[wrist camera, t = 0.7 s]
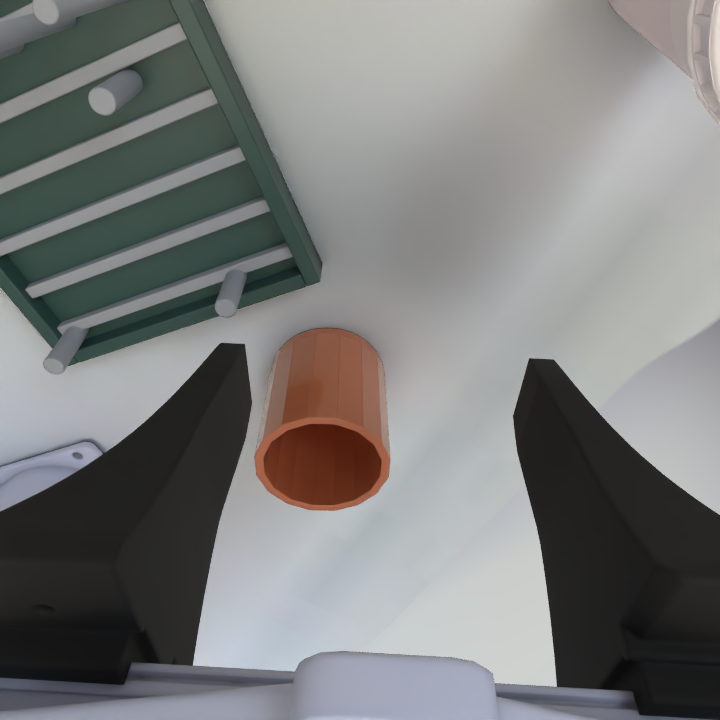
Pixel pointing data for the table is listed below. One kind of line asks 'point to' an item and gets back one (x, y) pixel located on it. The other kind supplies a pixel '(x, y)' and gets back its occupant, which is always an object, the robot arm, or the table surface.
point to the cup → (324, 422)
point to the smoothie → (682, 39)
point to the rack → (134, 177)
